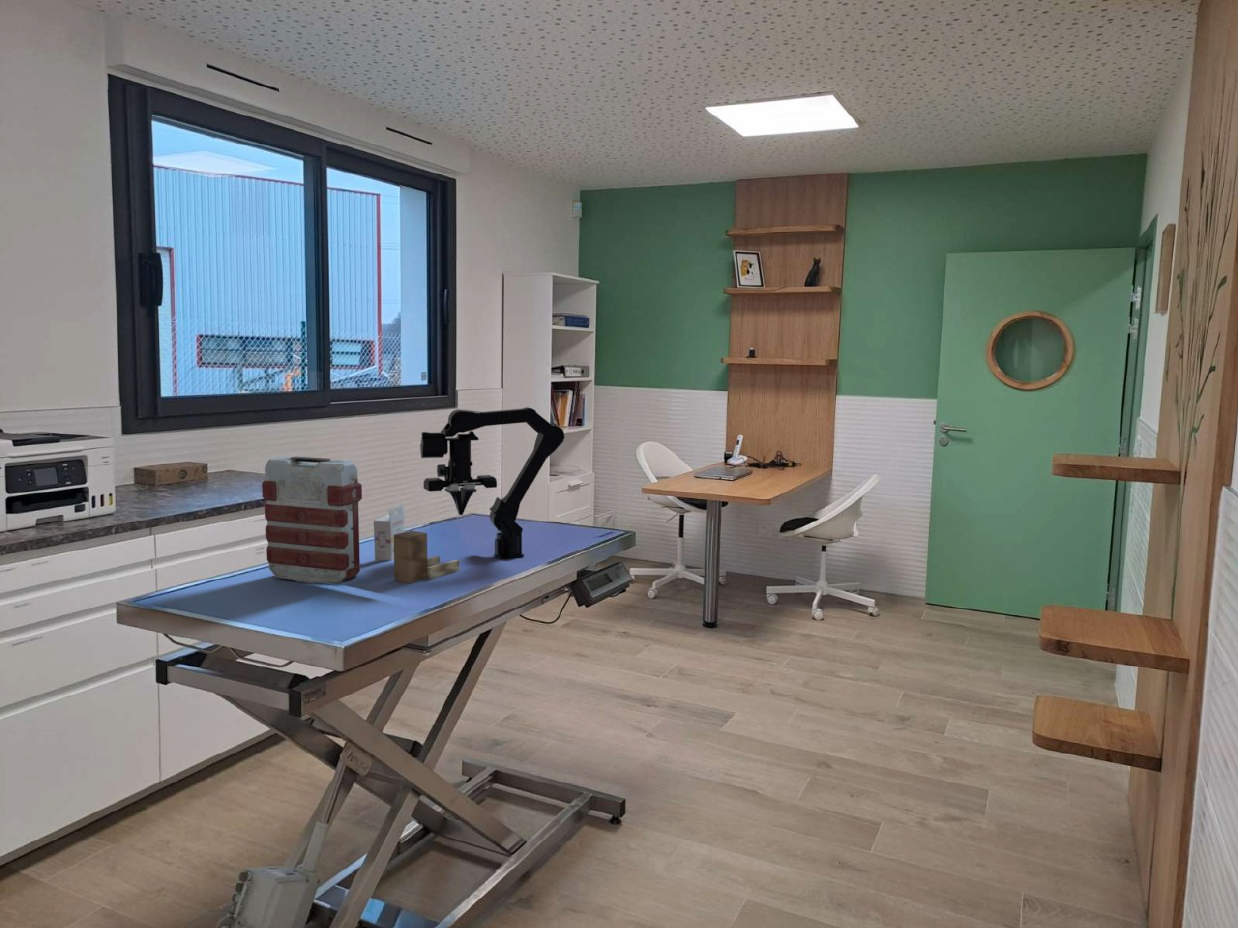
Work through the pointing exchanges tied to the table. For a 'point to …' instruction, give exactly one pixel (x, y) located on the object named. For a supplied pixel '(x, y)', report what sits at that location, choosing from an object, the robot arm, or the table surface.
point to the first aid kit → (312, 519)
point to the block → (410, 556)
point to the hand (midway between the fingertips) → (460, 514)
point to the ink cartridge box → (387, 533)
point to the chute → (440, 567)
